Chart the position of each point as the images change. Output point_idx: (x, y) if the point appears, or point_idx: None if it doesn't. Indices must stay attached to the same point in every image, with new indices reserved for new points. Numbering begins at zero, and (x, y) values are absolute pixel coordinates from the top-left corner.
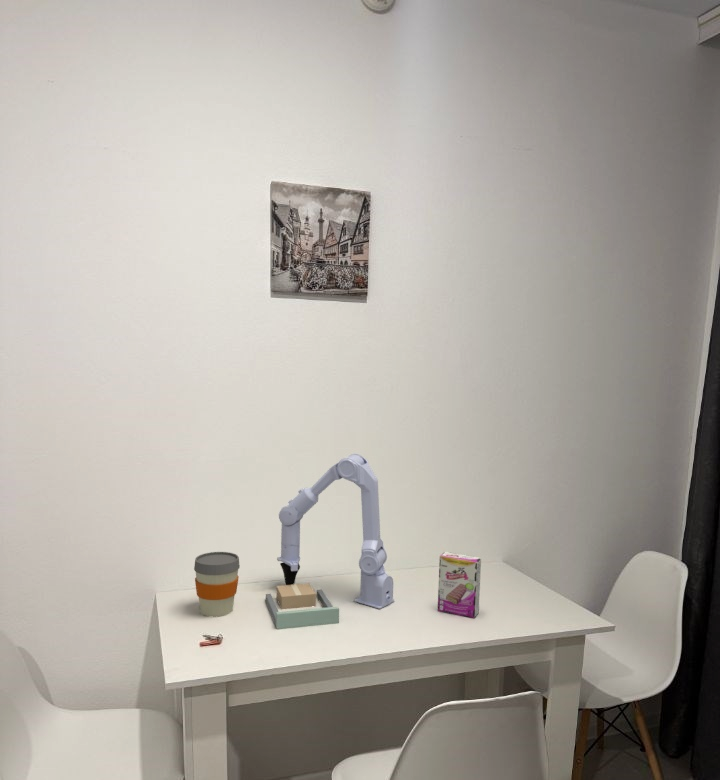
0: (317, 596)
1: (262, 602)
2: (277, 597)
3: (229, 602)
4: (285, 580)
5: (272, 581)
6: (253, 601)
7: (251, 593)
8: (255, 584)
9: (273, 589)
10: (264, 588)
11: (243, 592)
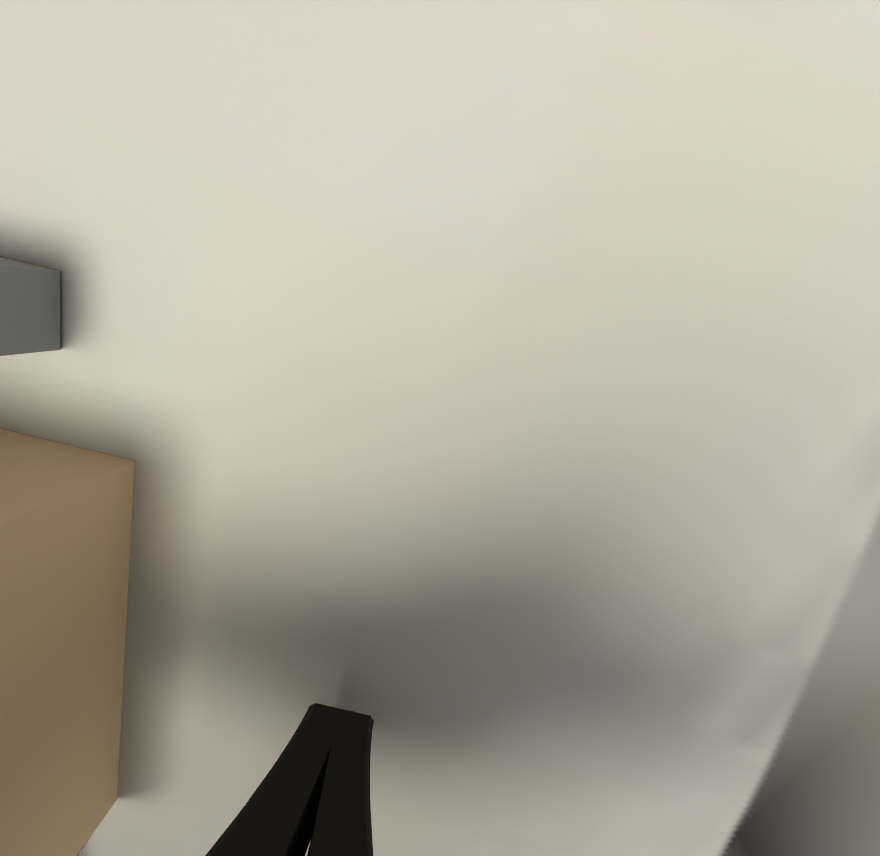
0: None
1: (3, 196)
2: (18, 452)
3: None
4: (267, 803)
5: (763, 651)
6: (78, 58)
7: (454, 167)
8: (813, 391)
9: (459, 546)
10: (563, 451)
11: (572, 31)
